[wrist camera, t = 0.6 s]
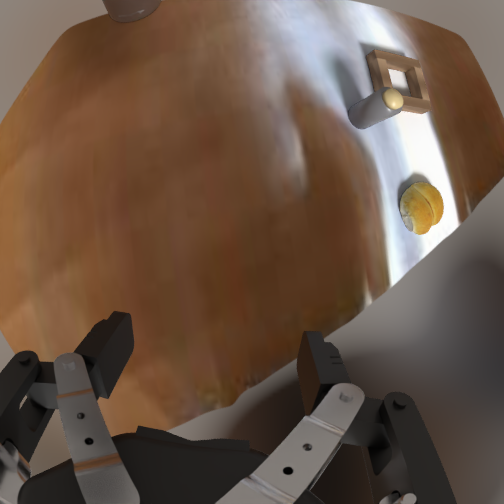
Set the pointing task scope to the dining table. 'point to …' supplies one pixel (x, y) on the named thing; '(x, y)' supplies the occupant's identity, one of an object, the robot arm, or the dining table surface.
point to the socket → (411, 67)
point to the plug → (376, 108)
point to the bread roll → (421, 207)
